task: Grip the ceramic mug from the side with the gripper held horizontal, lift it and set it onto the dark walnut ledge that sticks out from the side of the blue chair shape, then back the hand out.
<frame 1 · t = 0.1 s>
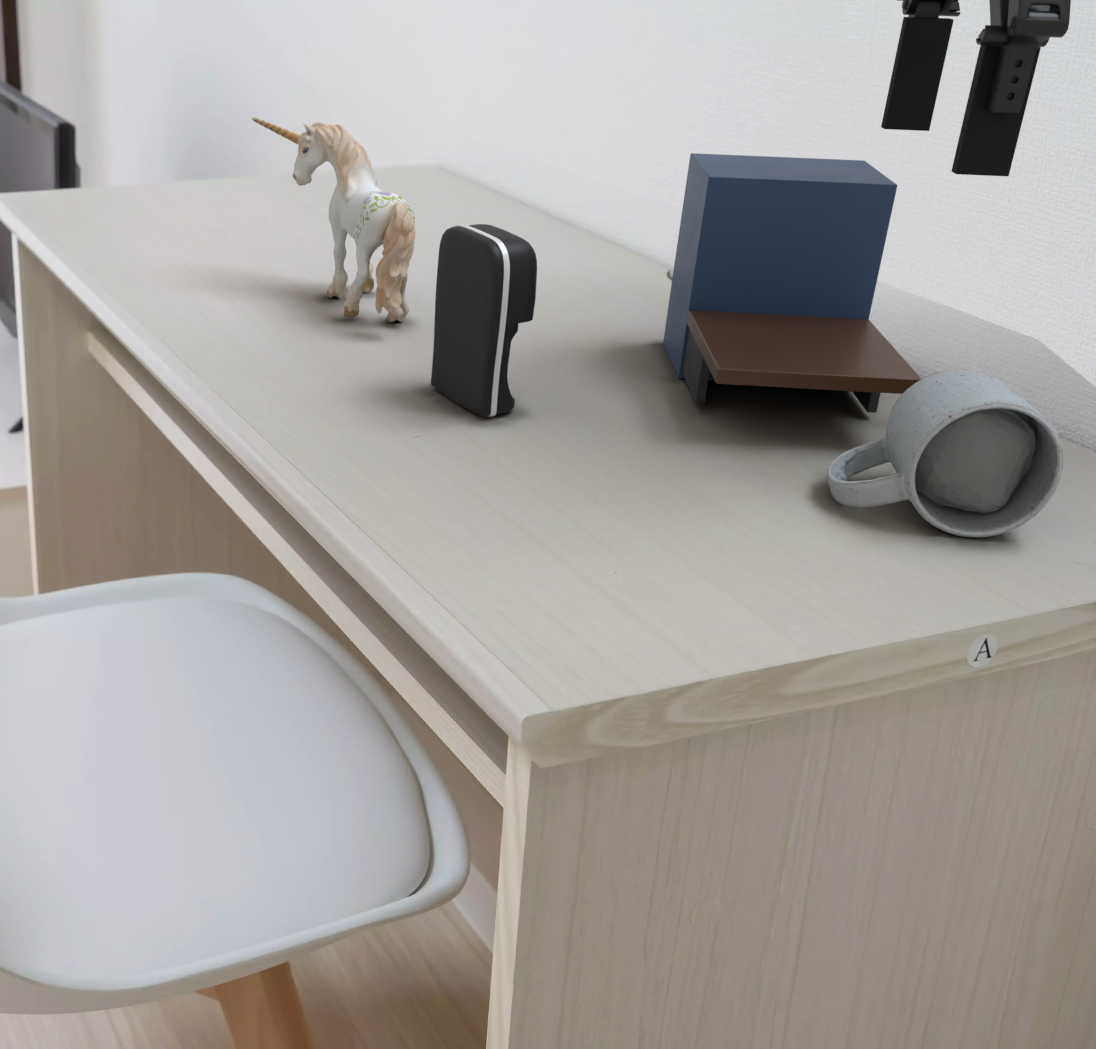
hand: (939, 150, 78), 18 cm above the table, tool pointing down, fingers open, 13 cm apart
unicorn figurine: (324, 309, 107), on the table
ceramic mug: (925, 511, 76), on the table
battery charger: (477, 403, 89), on the table
blue chair shape: (754, 364, 97), on the table
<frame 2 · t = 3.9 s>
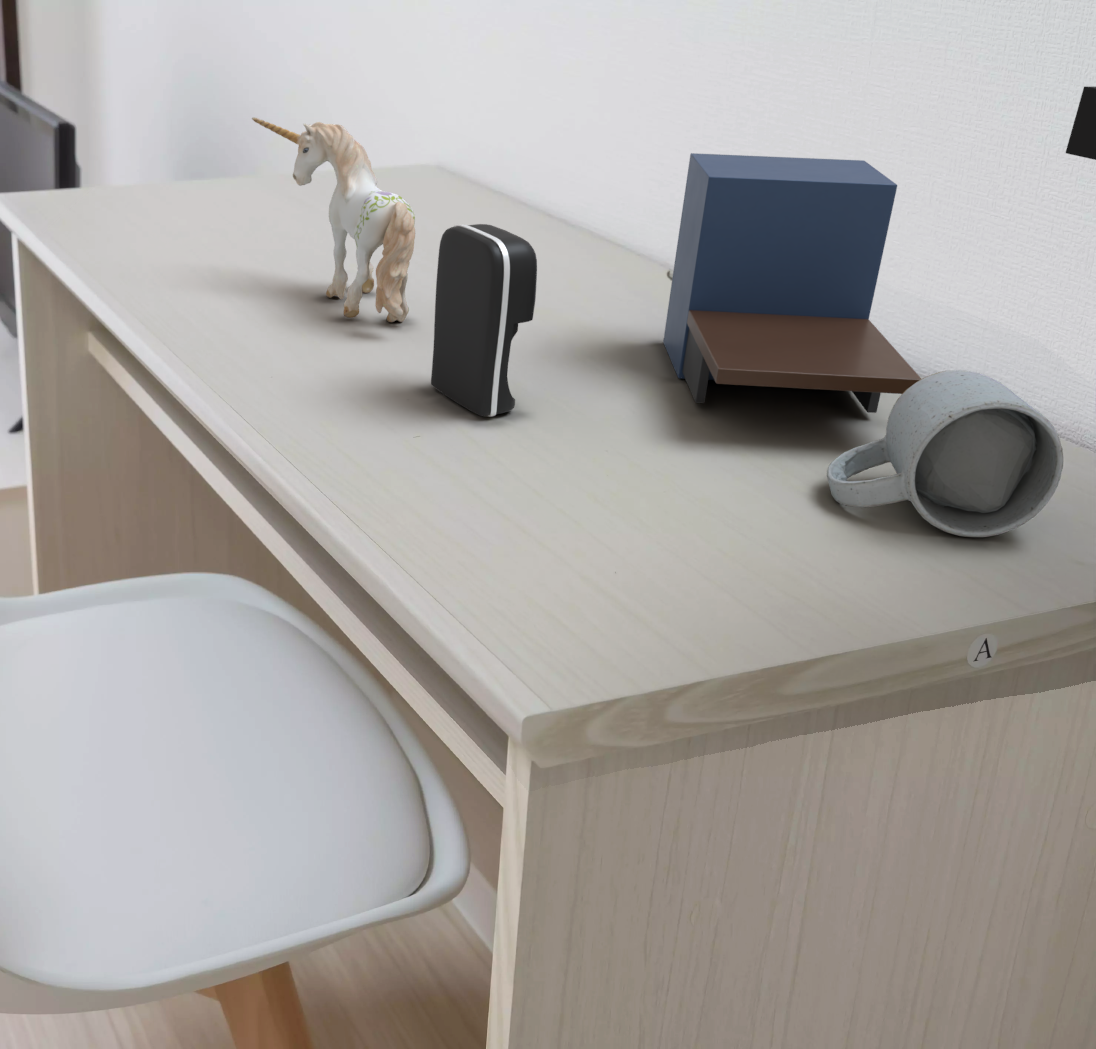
nothing on the table moved.
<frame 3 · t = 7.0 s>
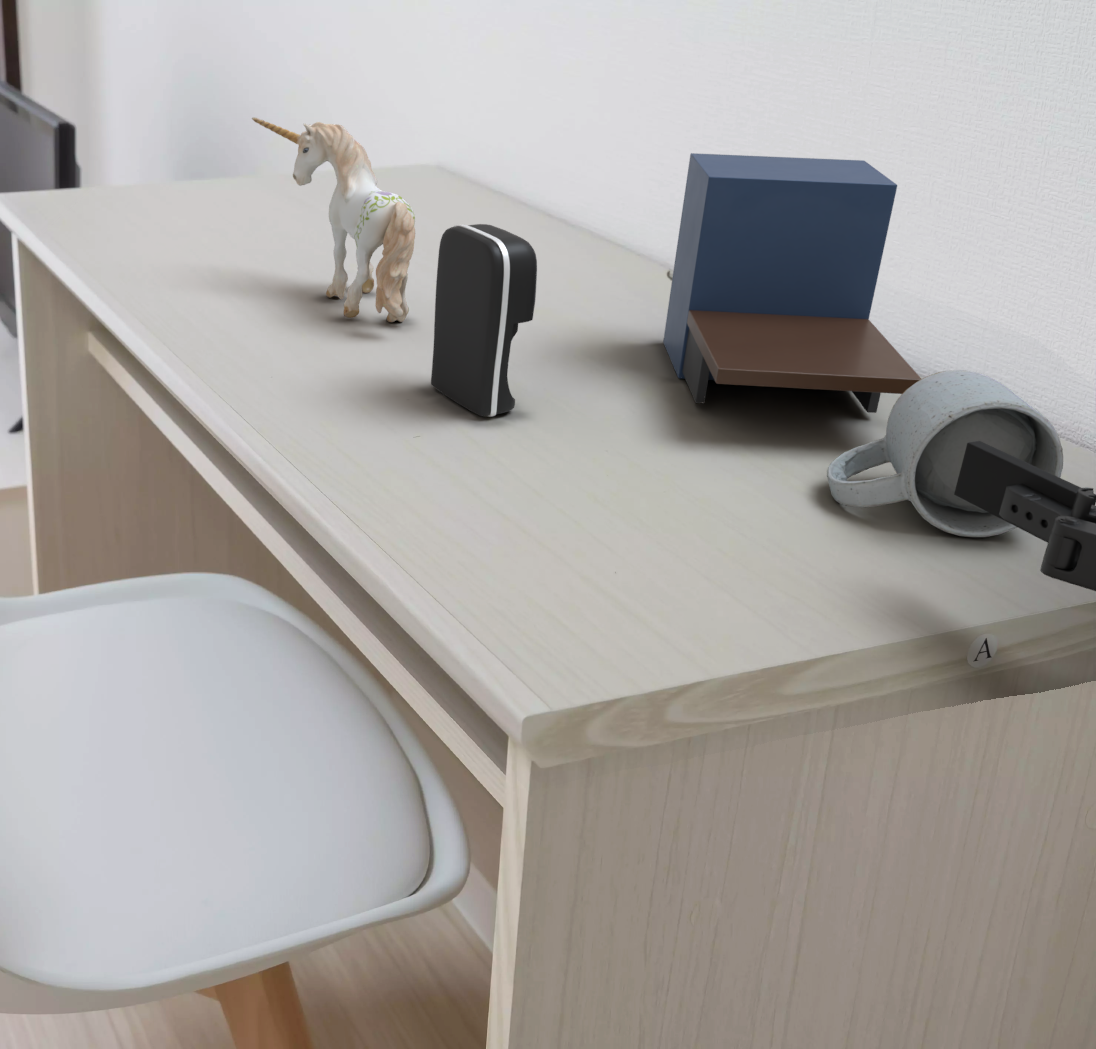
hand: (1069, 449, 67), 7 cm above the table, tool horizontal, fingers open, 13 cm apart
nothing on the table moved.
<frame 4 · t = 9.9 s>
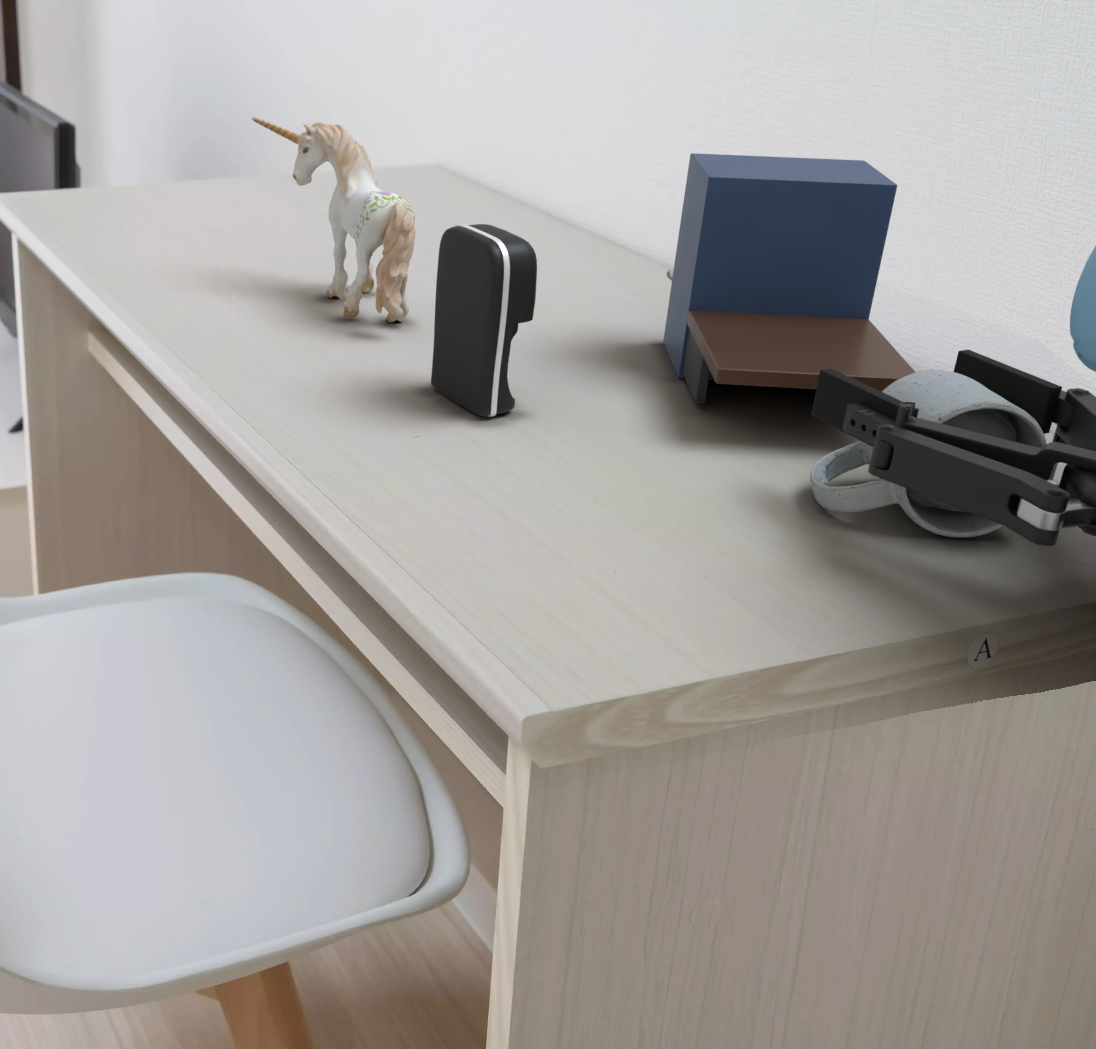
hand: (891, 381, 77), 6 cm above the table, tool horizontal, fingers closed on ceramic mug, 9 cm apart
ceramic mug: (907, 512, 76), on the table, touching gripper
everything else where it was.
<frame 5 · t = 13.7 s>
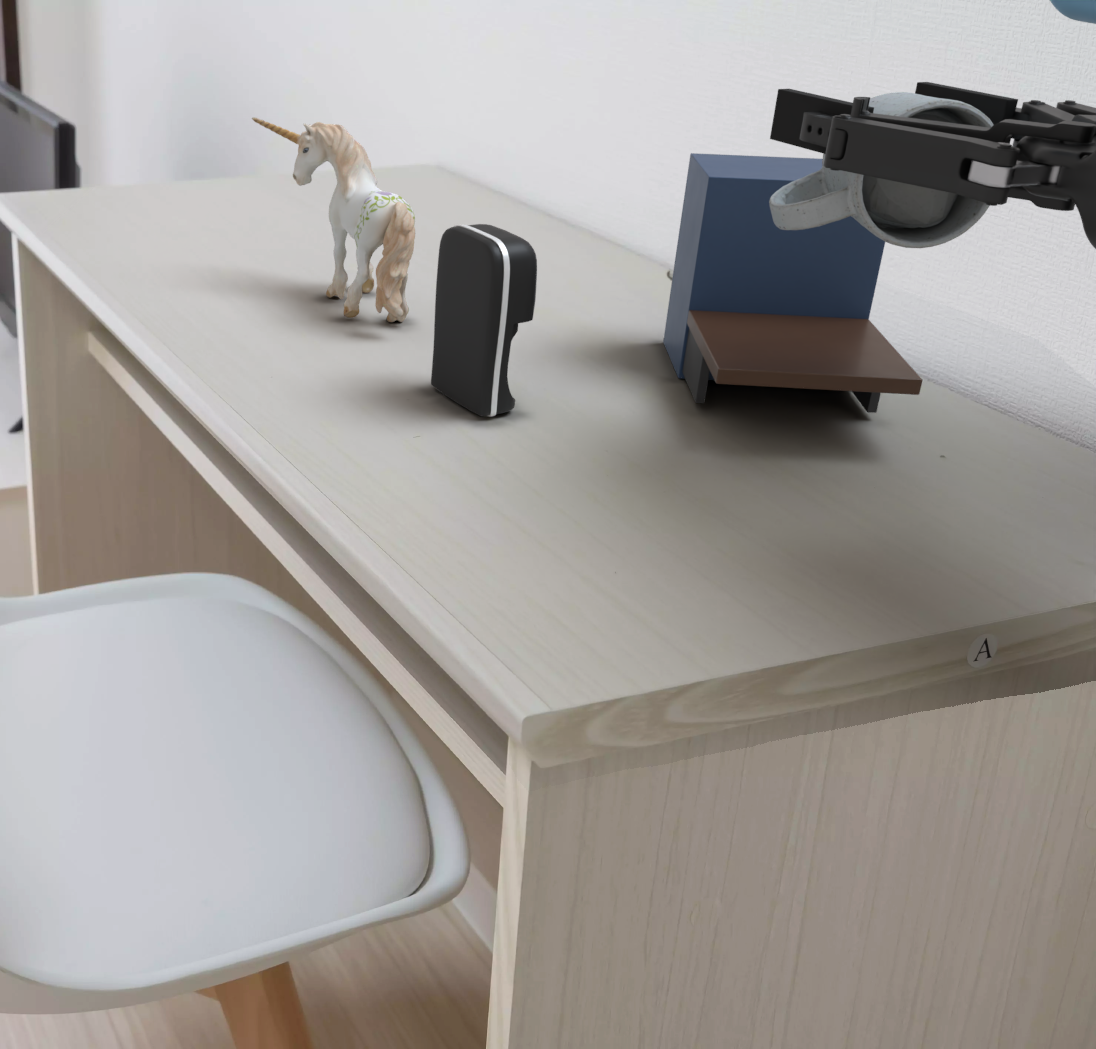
hand: (849, 109, 77), 20 cm above the table, tool horizontal, fingers closed on ceramic mug, 9 cm apart
ceramic mug: (866, 235, 76), point 14 cm above the table, touching gripper
everything else where it was.
when the fingers open (11 cm above the table, at t = 17.7 s): ceramic mug stays where it is, resting on blue chair shape.
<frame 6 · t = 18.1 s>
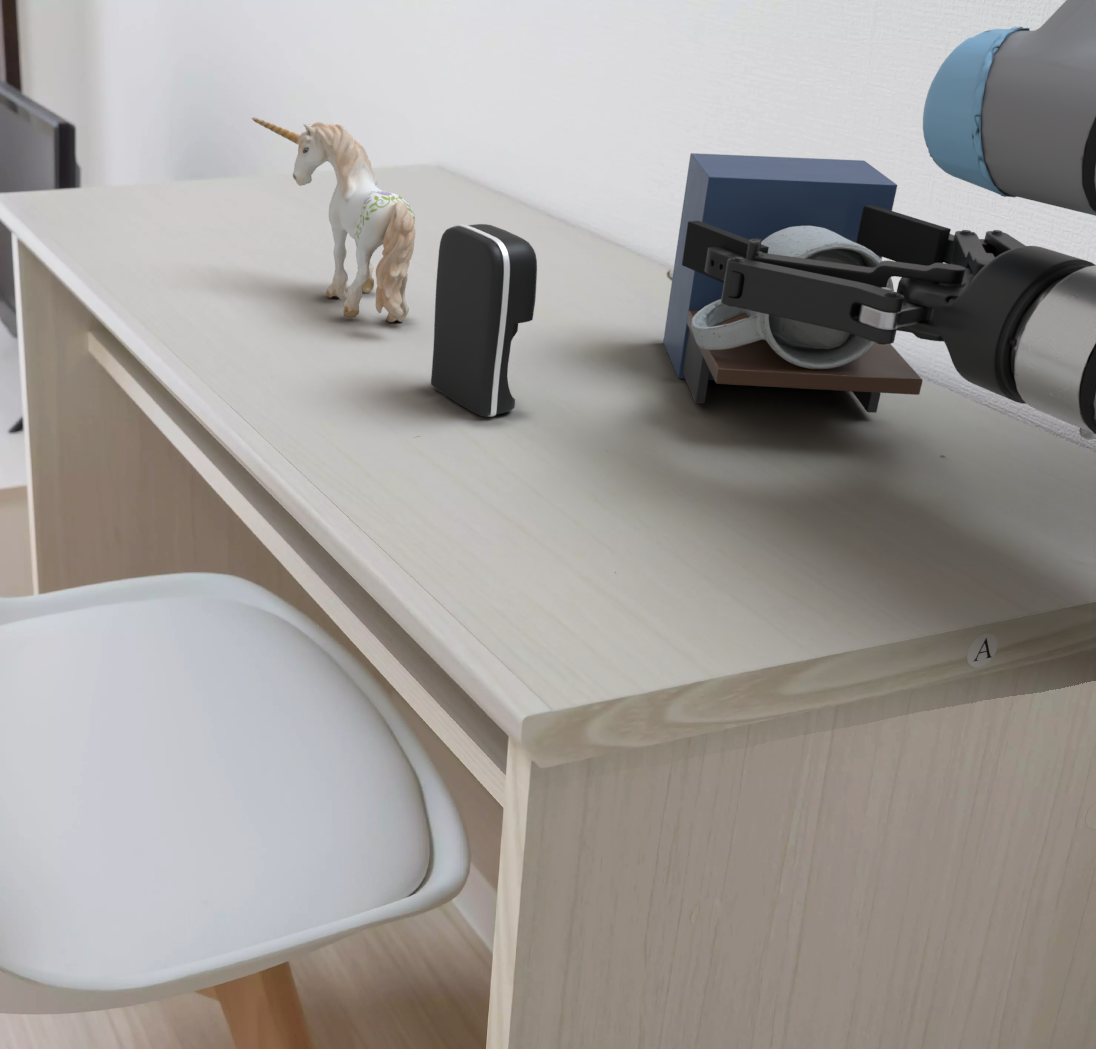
hand: (778, 234, 85), 12 cm above the table, tool horizontal, fingers open, 13 cm apart
ceramic mug: (778, 353, 85), point 5 cm above the table, touching blue chair shape
everything else where it was.
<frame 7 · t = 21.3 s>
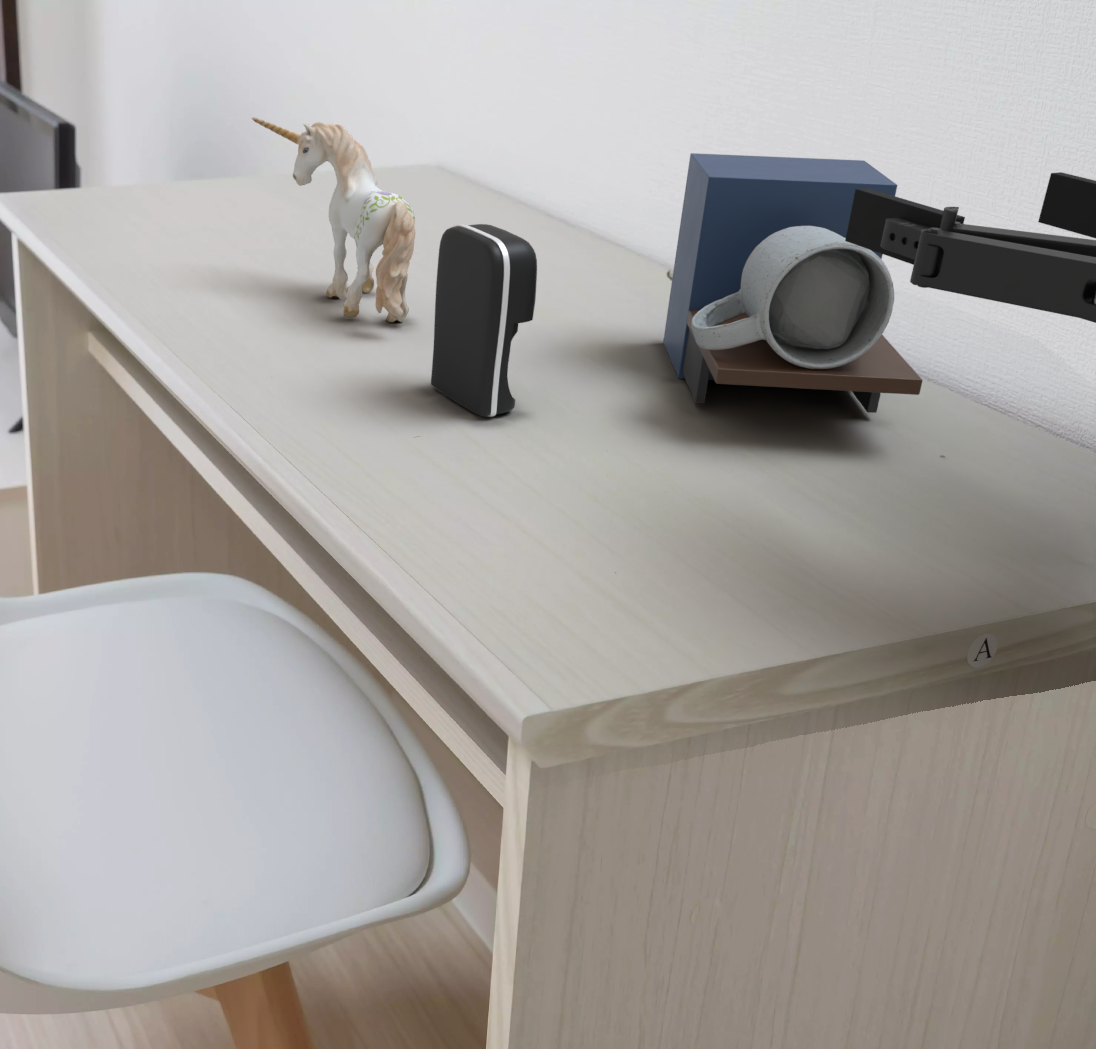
hand: (955, 205, 72), 16 cm above the table, tool horizontal, fingers open, 13 cm apart
nothing on the table moved.
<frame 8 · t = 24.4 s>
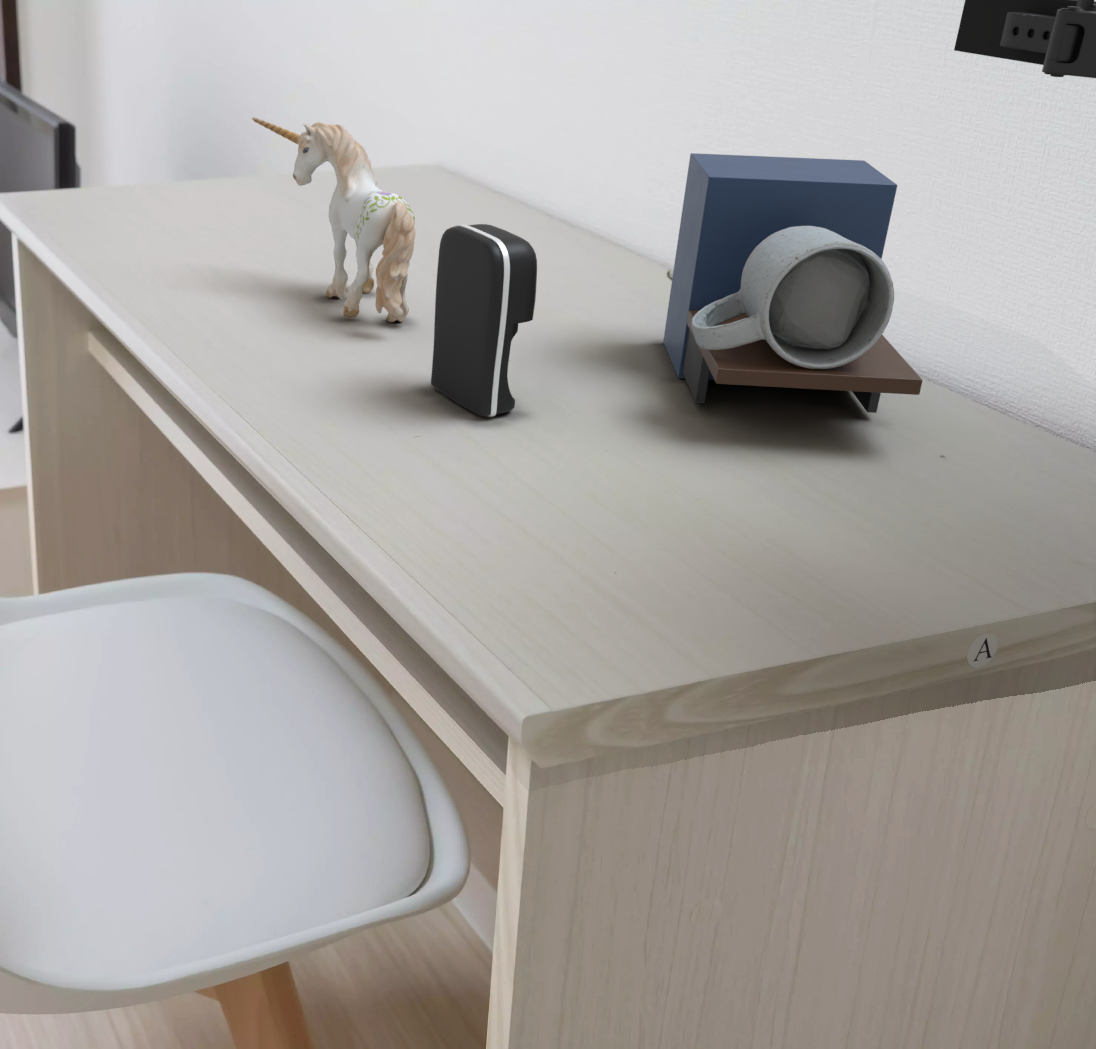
hand: (1072, 16, 65), 26 cm above the table, tool horizontal, fingers open, 13 cm apart
nothing on the table moved.
at the end: ceramic mug inside the target area on the blue chair shape (2.0 cm from its centre), point 4.8 cm above the blue chair shape's base; ceramic mug tilted 0°; the gripper is holding nothing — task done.
